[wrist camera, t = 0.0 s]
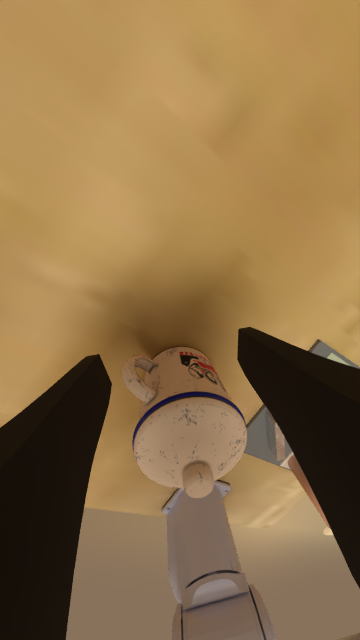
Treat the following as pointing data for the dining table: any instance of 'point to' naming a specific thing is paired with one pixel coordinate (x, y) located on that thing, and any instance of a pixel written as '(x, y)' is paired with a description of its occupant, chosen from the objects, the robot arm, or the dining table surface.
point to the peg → (305, 484)
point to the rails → (275, 438)
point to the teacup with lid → (184, 421)
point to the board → (258, 424)
